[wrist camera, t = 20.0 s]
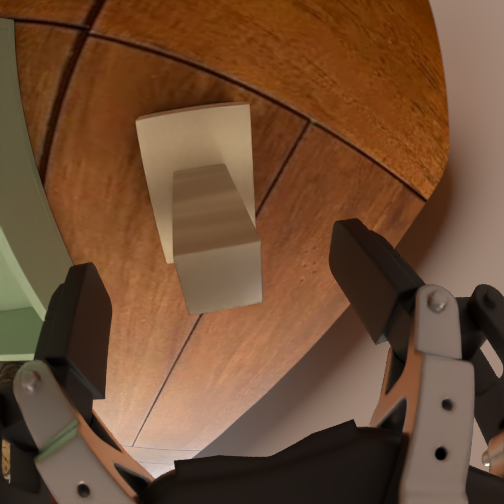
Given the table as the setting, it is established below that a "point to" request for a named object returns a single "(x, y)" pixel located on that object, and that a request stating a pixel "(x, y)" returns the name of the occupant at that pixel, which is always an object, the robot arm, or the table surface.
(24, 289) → the bin
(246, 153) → the base with upright post
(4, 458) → the alarm clock
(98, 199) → the table surface
